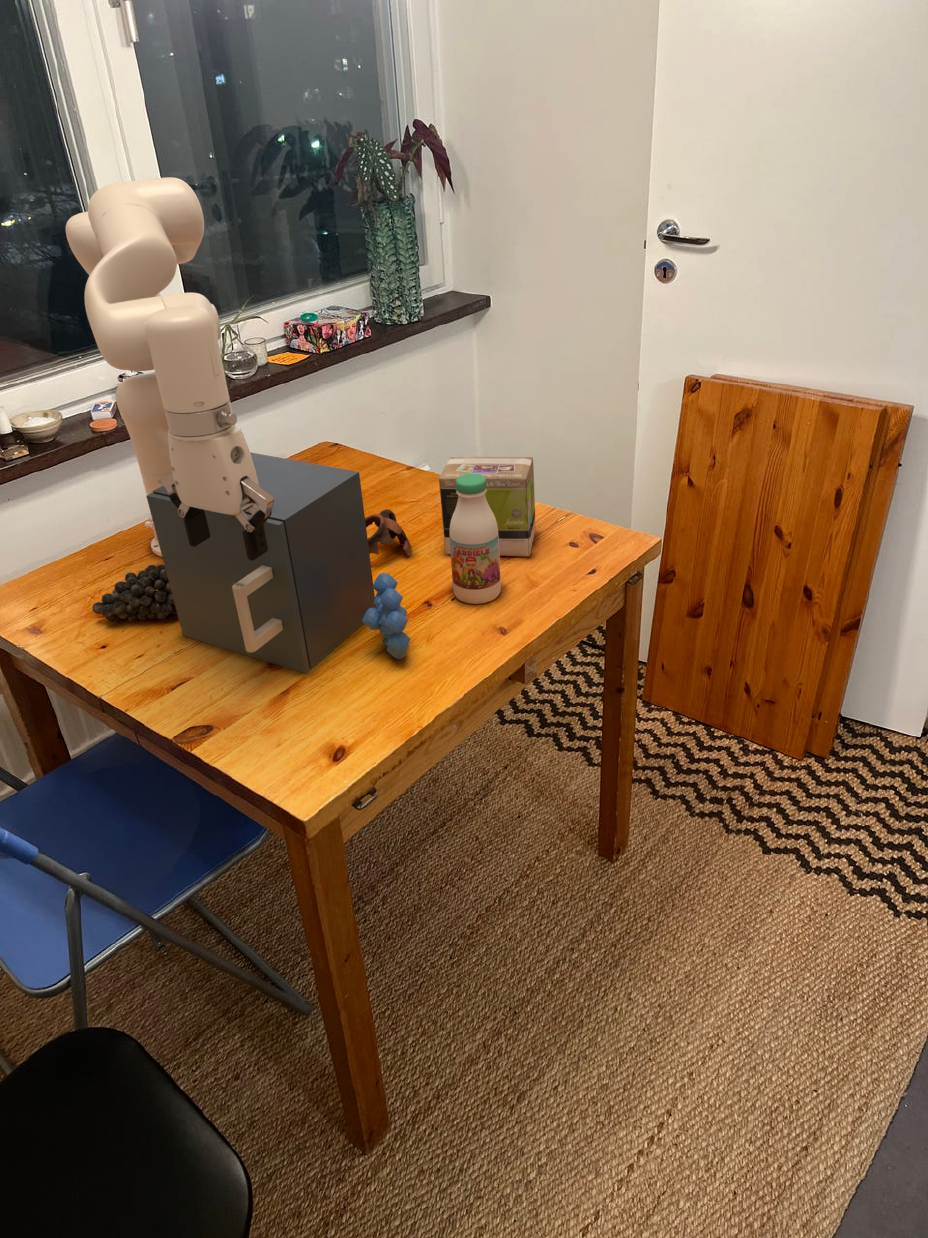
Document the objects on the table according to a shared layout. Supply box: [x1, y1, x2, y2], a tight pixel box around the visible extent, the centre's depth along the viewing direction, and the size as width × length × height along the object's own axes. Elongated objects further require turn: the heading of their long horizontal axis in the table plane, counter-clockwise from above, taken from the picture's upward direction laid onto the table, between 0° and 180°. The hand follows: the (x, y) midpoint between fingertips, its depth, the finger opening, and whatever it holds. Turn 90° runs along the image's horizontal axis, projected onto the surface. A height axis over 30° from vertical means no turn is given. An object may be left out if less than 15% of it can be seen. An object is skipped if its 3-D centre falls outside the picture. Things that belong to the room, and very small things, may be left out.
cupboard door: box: [145, 493, 311, 675], centre depth 128 cm, size 8×24×24 cm, turn 61°
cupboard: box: [153, 451, 376, 670], centre depth 137 cm, size 17×24×24 cm
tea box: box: [438, 456, 536, 557], centre depth 158 cm, size 15×10×15 cm, turn 80°
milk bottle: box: [450, 473, 502, 605], centre depth 142 cm, size 8×8×20 cm
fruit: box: [91, 564, 177, 623], centre depth 146 cm, size 9×8×15 cm
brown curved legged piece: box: [365, 508, 412, 558], centre depth 161 cm, size 12×10×8 cm
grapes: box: [362, 573, 411, 660], centre depth 132 cm, size 12×7×12 cm, turn 16°
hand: (228, 548), depth 116 cm, fingers open, 9 cm apart
